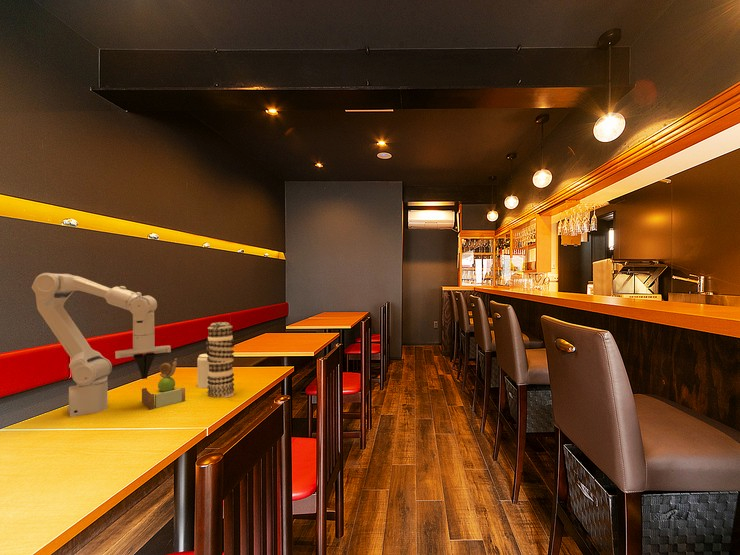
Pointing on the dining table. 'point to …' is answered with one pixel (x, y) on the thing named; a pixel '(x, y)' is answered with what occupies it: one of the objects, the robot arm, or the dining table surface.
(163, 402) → the fence gate
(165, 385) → the snail figurine
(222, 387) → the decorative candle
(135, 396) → the dining table surface
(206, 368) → the beverage can
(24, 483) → the dining table surface
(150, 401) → the base
